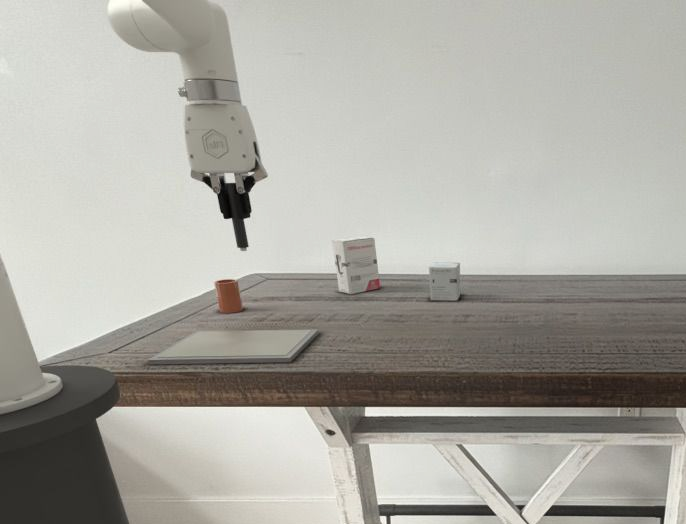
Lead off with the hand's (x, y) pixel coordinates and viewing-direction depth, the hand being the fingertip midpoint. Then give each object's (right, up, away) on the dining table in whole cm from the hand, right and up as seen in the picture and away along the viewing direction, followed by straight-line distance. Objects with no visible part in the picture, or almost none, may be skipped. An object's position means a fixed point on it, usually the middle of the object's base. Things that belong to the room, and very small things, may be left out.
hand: (237, 217), depth 94 cm
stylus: (0, -5, +2) cm, 6 cm away
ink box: (+11, -6, +37) cm, 39 cm away
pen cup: (-11, -13, +19) cm, 26 cm away
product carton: (+32, -9, +29) cm, 44 cm away
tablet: (+2, -22, -3) cm, 23 cm away
